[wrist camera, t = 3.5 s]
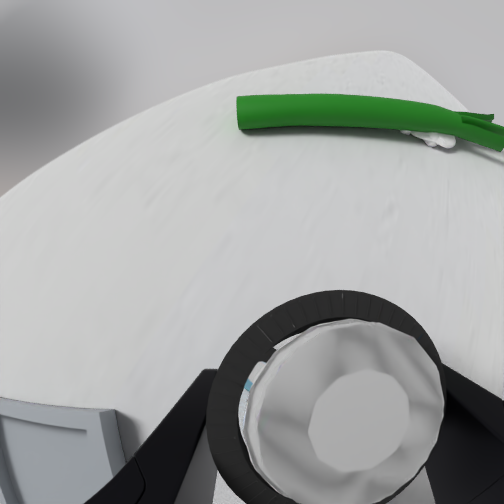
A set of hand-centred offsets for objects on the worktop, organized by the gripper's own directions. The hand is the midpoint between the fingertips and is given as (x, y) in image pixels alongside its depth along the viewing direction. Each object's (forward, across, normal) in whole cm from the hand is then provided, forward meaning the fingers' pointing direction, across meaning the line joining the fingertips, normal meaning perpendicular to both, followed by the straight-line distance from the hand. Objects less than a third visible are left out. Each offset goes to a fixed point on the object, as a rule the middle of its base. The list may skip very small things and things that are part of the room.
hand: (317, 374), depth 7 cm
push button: (+4, 0, +6) cm, 7 cm away
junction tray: (-2, +14, +11) cm, 18 cm away
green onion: (+18, -13, -7) cm, 23 cm away
